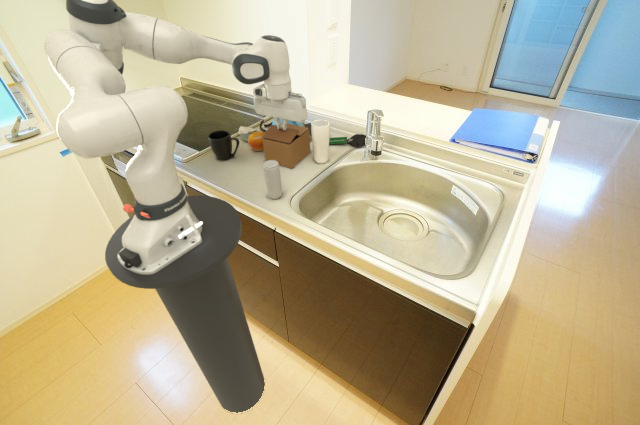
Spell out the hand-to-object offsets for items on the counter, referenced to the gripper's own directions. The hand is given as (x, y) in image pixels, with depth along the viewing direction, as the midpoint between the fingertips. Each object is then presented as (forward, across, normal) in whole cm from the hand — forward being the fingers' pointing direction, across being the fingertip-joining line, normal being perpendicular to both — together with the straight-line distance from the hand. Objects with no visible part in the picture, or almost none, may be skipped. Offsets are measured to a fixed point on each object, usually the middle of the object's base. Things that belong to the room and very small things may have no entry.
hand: (282, 129), depth 114 cm
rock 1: (+12, +23, -4) cm, 26 cm away
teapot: (+12, +11, -18) cm, 25 cm away
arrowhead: (+11, +24, -10) cm, 29 cm away
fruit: (+12, +14, -3) cm, 19 cm away
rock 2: (+9, -20, -24) cm, 33 cm away
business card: (+12, -13, -18) cm, 25 cm away
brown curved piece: (+10, +26, -21) cm, 35 cm away
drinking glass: (+12, -13, -5) cm, 19 cm away
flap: (+1, 0, +2) cm, 2 cm away
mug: (+12, +21, +9) cm, 26 cm away
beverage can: (+12, -10, +22) cm, 27 cm away
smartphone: (+12, -4, -22) cm, 25 cm away
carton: (+12, 0, -2) cm, 12 cm away
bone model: (+14, +3, -24) cm, 28 cm away
